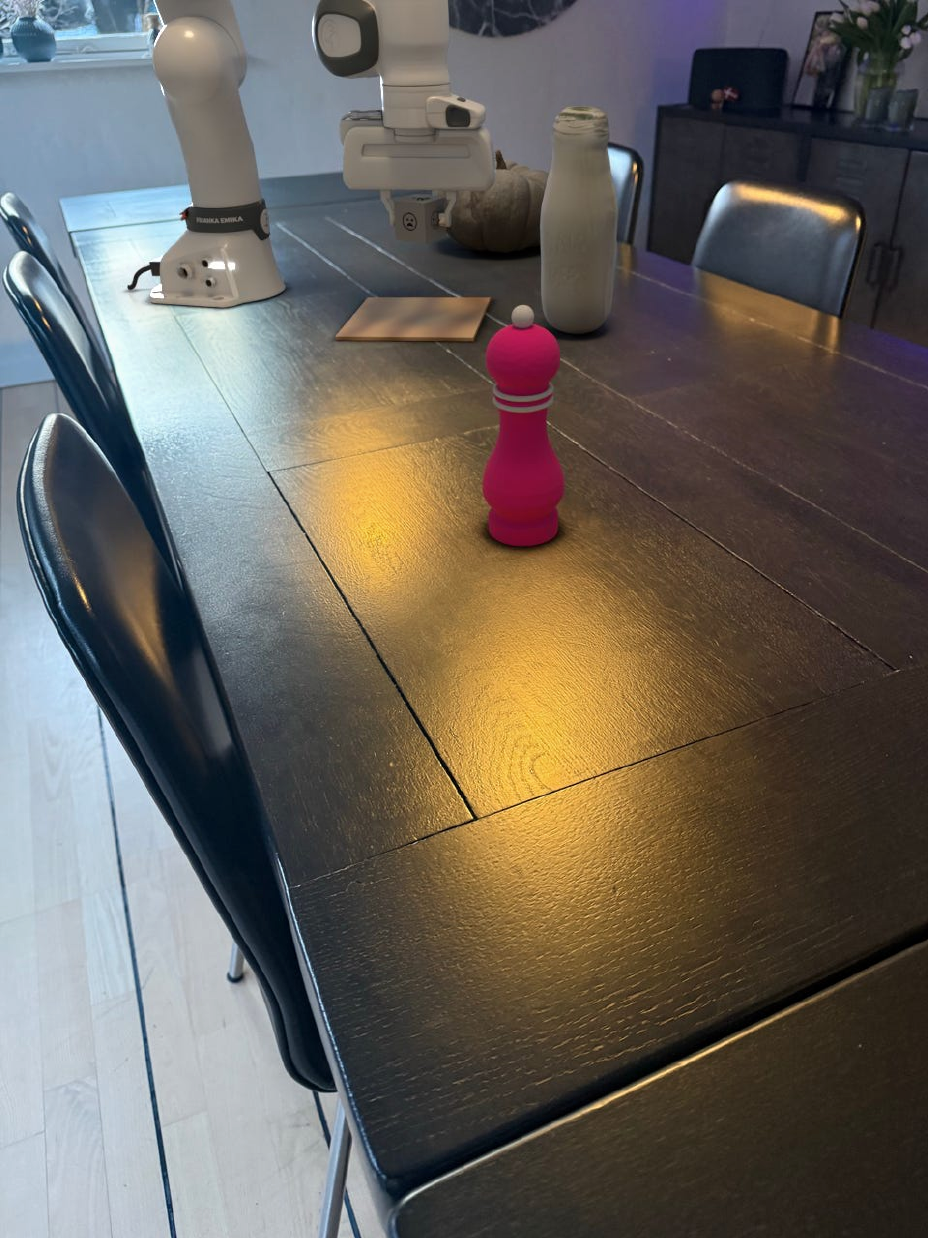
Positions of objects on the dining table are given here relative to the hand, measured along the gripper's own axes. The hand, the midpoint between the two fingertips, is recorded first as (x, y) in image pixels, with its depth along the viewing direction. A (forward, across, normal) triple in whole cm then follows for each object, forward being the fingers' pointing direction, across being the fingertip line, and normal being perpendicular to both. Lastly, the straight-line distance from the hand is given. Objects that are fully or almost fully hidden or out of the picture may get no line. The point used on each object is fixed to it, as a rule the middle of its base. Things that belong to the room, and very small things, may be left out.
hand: (421, 225), depth 123 cm
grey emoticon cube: (+2, 0, 0) cm, 2 cm away
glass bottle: (+14, +22, 0) cm, 26 cm away
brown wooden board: (+14, -2, +5) cm, 15 cm away
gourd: (+14, +4, +52) cm, 54 cm away
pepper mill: (+14, +20, -58) cm, 63 cm away
